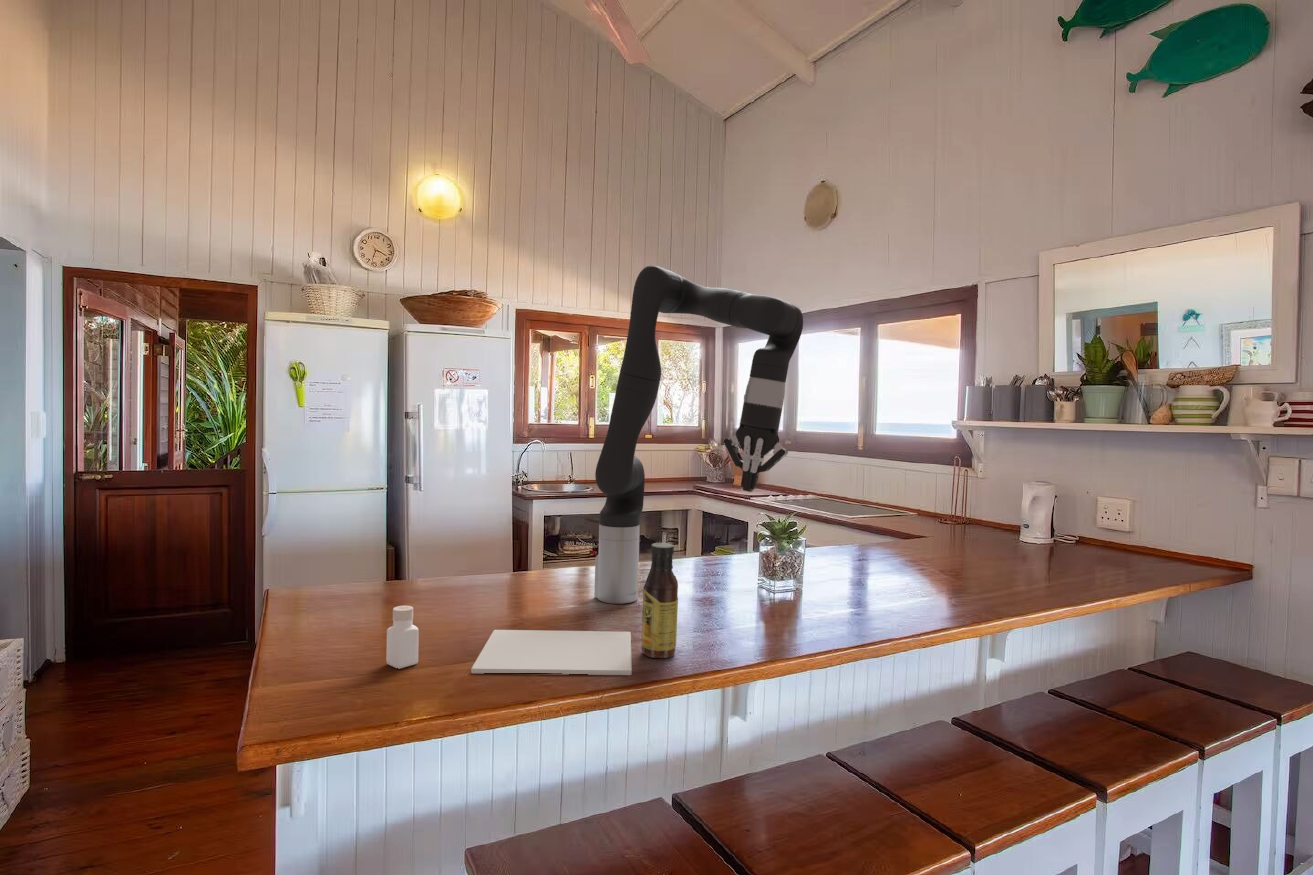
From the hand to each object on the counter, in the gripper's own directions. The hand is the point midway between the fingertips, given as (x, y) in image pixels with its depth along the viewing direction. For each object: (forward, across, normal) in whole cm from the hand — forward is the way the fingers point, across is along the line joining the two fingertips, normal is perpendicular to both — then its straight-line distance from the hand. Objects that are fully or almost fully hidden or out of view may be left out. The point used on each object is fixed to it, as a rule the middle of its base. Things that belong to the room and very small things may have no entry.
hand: (747, 490), depth 137 cm
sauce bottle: (+30, +6, +18) cm, 35 cm away
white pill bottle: (+36, +41, +43) cm, 69 cm away
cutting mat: (+32, +22, +26) cm, 47 cm away
